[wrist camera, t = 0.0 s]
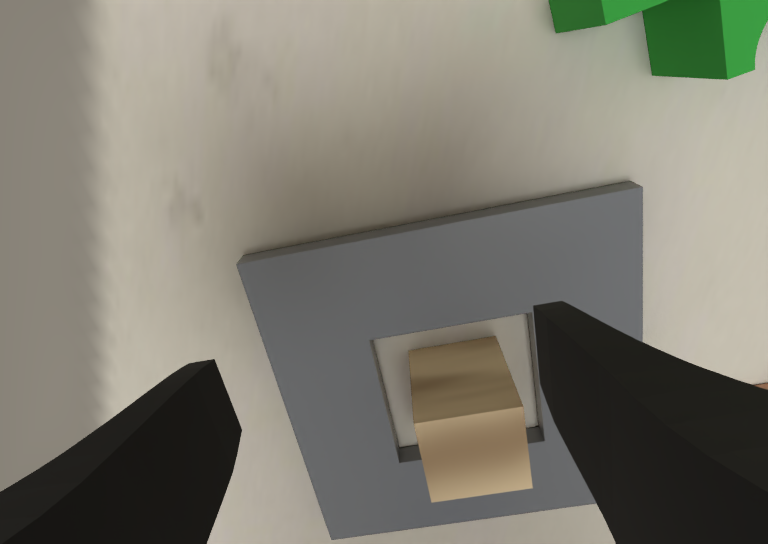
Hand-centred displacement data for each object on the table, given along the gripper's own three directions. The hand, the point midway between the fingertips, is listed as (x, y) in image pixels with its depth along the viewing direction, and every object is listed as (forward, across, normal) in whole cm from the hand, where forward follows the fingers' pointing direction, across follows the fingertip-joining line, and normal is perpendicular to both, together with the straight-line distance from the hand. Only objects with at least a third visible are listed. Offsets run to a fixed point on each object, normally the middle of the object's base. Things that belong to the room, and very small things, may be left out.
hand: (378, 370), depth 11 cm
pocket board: (+10, -2, +8) cm, 13 cm away
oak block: (+10, -2, +8) cm, 13 cm away
